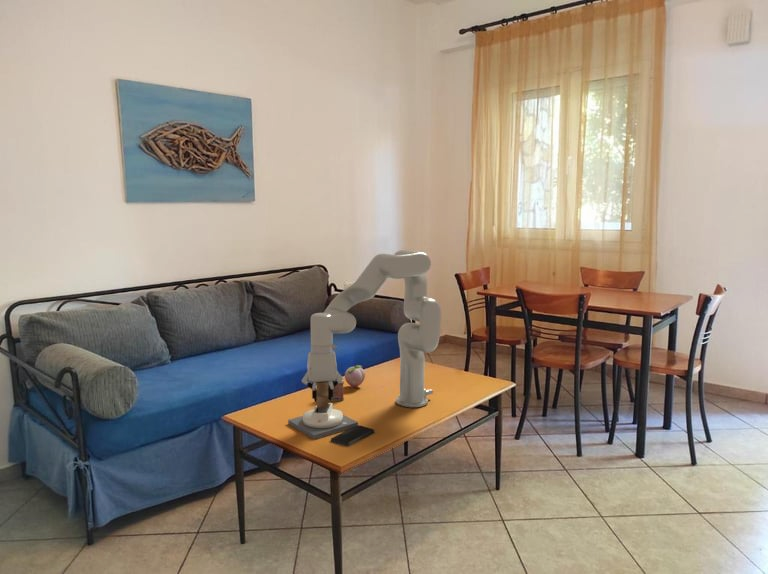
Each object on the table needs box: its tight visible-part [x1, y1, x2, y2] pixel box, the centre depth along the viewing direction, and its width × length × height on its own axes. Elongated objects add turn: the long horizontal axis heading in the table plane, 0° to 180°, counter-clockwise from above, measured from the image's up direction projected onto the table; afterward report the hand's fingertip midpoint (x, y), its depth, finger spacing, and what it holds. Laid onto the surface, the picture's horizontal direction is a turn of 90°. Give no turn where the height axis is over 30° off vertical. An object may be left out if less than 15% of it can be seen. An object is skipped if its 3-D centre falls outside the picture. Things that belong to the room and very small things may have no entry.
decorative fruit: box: [344, 364, 366, 388], centre depth 233 cm, size 9×8×10 cm
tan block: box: [316, 381, 329, 413], centre depth 191 cm, size 4×7×12 cm, turn 6°
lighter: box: [328, 377, 345, 402], centre depth 218 cm, size 8×3×10 cm, turn 71°
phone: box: [330, 424, 376, 448], centre depth 183 cm, size 8×1×15 cm
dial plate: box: [287, 414, 359, 440], centre depth 192 cm, size 18×17×2 cm
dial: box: [302, 402, 344, 428], centre depth 192 cm, size 14×14×4 cm
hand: (322, 399), depth 191 cm, fingers closed on tan block, 4 cm apart
